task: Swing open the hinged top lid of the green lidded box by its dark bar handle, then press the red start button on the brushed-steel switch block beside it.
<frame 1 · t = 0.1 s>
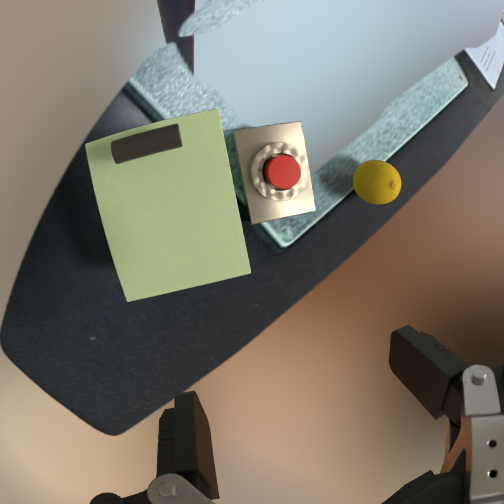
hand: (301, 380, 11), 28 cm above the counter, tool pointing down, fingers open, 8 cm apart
lemon: (359, 179, 38), on the counter
lid: (164, 211, 23), point 12 cm above the counter, hinge at 0.0°
start button: (282, 171, 31), point 4 cm above the counter, slide at 0.1 cm
switch block: (272, 171, 36), on the counter
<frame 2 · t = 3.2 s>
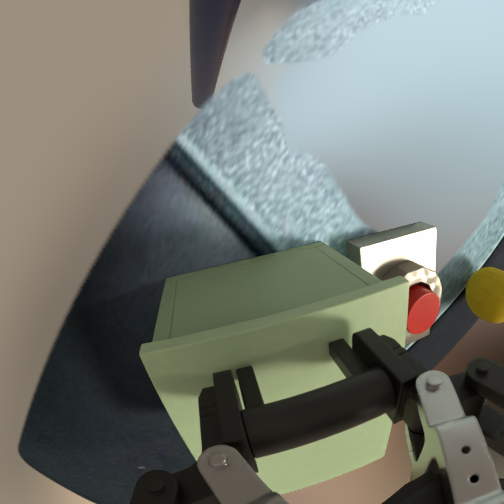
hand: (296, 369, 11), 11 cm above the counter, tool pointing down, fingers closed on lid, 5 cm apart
lemon: (466, 281, 27), on the counter
green lidded box: (261, 338, 24), on the counter
lid: (312, 456, 12), point 12 cm above the counter, hinge at 0.0°, touching gripper
start button: (417, 309, 21), point 4 cm above the counter, slide at 0.1 cm
switch block: (388, 288, 25), on the counter
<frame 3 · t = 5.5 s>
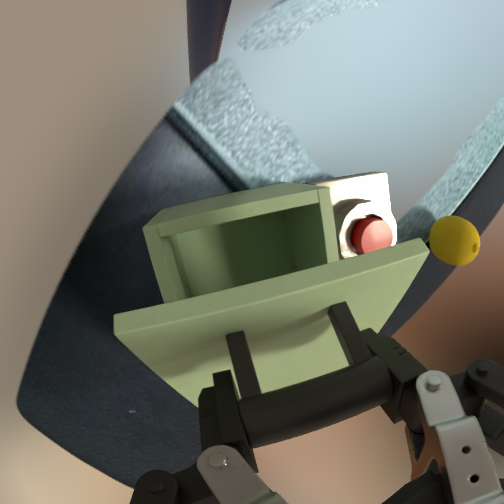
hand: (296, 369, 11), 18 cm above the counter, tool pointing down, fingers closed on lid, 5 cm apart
lemon: (431, 233, 33), on the counter
green lidded box: (239, 265, 29), on the counter
lid: (292, 394, 14), point 16 cm above the counter, hinge at 34.9°, touching gripper
start button: (372, 237, 26), point 4 cm above the counter, slide at 0.1 cm
switch block: (350, 228, 30), on the counter
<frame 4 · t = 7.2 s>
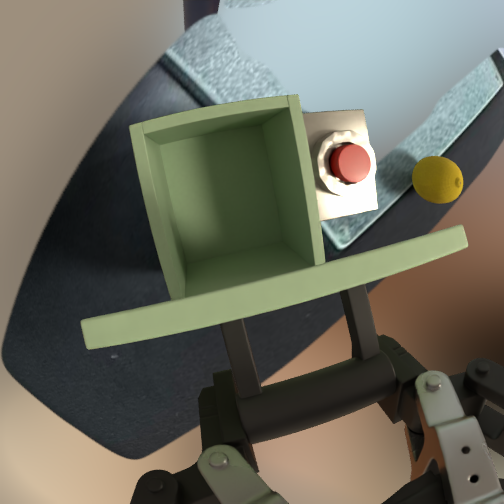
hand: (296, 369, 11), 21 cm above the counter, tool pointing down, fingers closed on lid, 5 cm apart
lemon: (414, 177, 33), on the counter
green lidded box: (222, 193, 29), on the counter
lid: (278, 336, 14), point 18 cm above the counter, hinge at 64.0°, touching gripper
start button: (350, 163, 26), point 4 cm above the counter, slide at 0.1 cm
switch block: (331, 163, 31), on the counter
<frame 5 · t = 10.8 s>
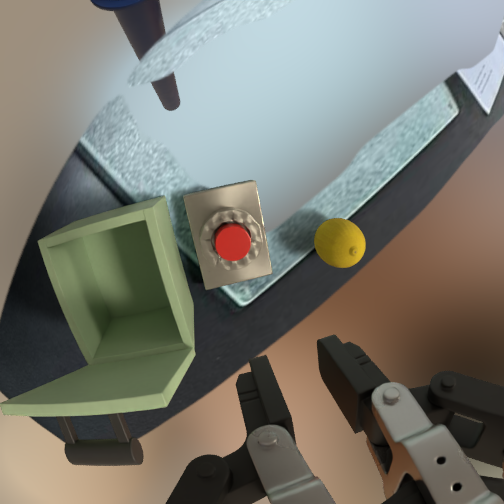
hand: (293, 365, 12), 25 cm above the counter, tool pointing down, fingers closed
lemon: (324, 234, 38), on the counter
green lidded box: (132, 263, 34), on the counter
lid: (120, 404, 19), point 18 cm above the counter, hinge at 64.6°
start button: (232, 241, 31), point 4 cm above the counter, slide at 0.1 cm
switch block: (227, 232, 35), on the counter
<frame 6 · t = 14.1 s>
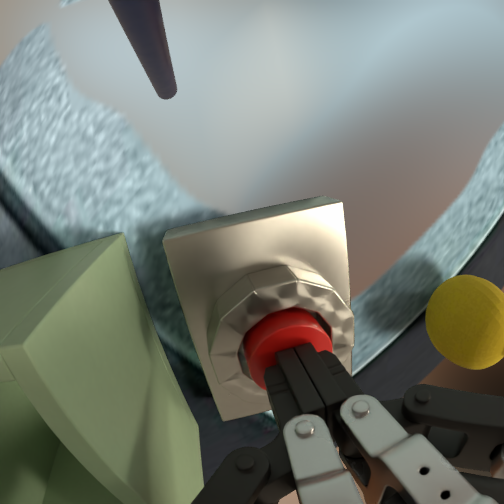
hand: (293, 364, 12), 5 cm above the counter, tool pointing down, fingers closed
lemon: (430, 295, 19), on the counter
green lidded box: (77, 364, 15), on the counter
start button: (286, 350, 12), point 4 cm above the counter, slide at -0.4 cm, touching gripper
switch block: (266, 310, 16), on the counter
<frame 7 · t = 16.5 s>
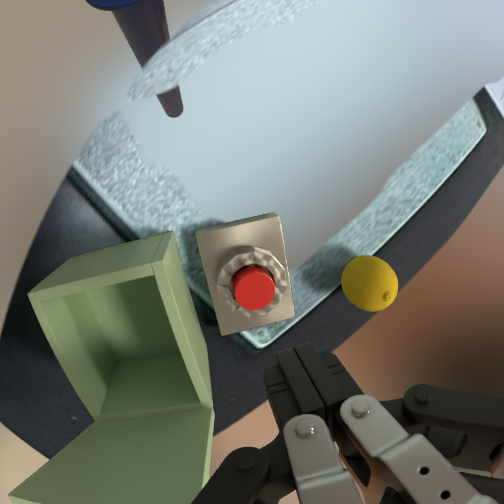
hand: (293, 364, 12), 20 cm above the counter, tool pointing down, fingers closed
lemon: (350, 270, 34), on the counter
green lidded box: (138, 305, 30), on the counter
lid: (137, 480, 15), point 18 cm above the counter, hinge at 64.6°
start button: (253, 288, 27), point 4 cm above the counter, slide at 0.1 cm
switch block: (245, 272, 31), on the counter
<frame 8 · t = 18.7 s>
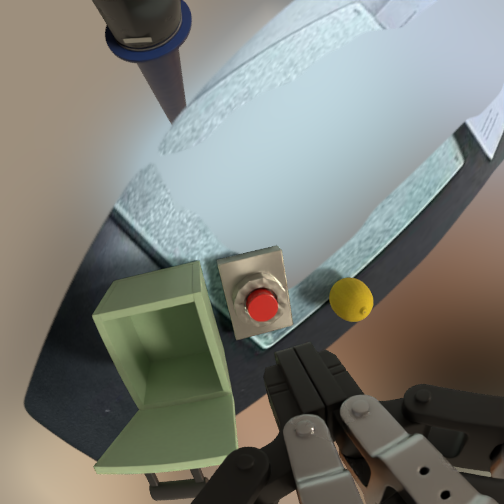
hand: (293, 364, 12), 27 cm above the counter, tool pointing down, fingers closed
lemon: (337, 287, 43), on the counter
green lidded box: (170, 317, 39), on the counter
lid: (181, 448, 24), point 18 cm above the counter, hinge at 64.6°
start button: (261, 305, 36), point 4 cm above the counter, slide at 0.1 cm
switch block: (254, 290, 40), on the counter
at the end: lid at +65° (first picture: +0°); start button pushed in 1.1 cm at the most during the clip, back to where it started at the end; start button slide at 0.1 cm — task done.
